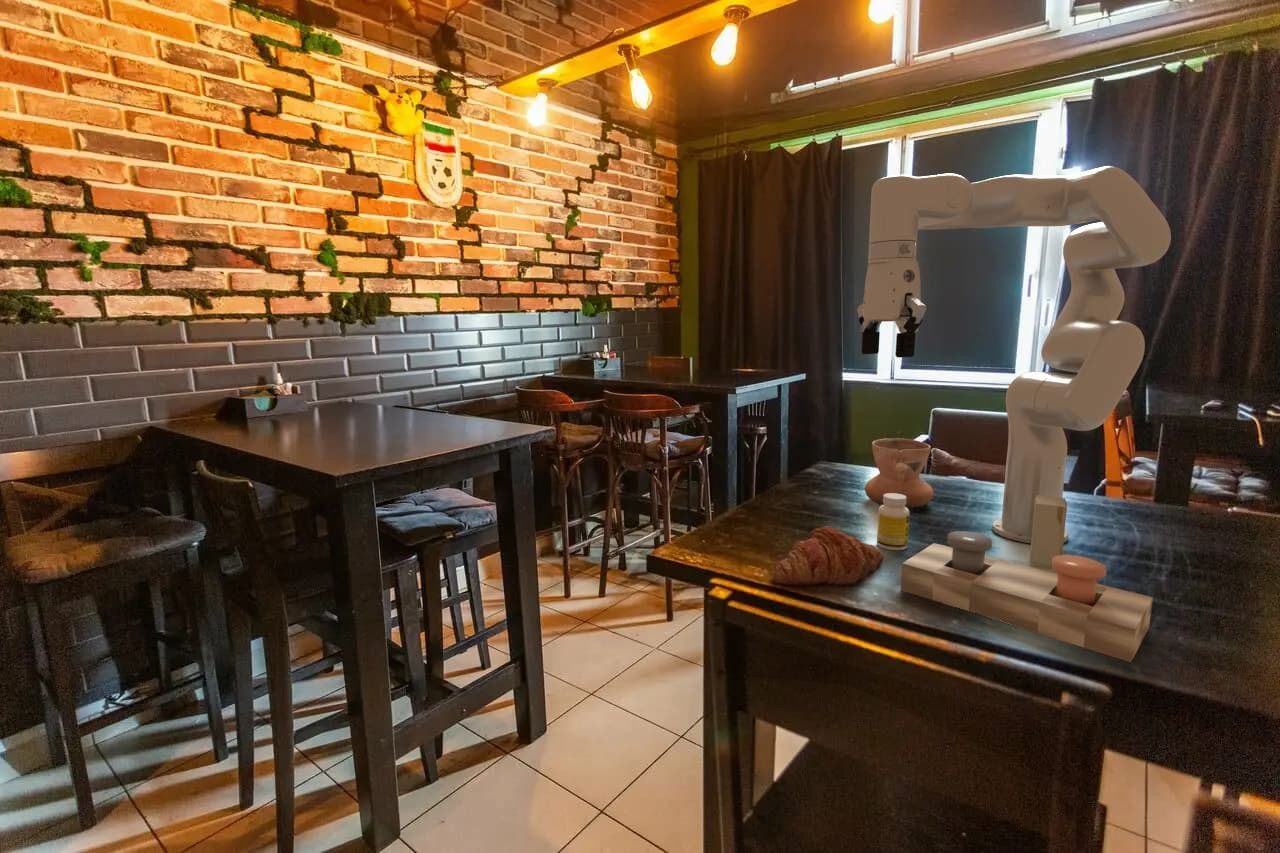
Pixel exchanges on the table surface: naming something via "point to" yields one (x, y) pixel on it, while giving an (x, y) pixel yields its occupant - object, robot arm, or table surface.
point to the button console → (1032, 601)
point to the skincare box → (1047, 531)
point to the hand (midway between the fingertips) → (886, 355)
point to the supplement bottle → (893, 522)
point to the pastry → (827, 560)
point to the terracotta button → (1077, 578)
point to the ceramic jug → (900, 471)
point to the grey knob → (969, 551)
